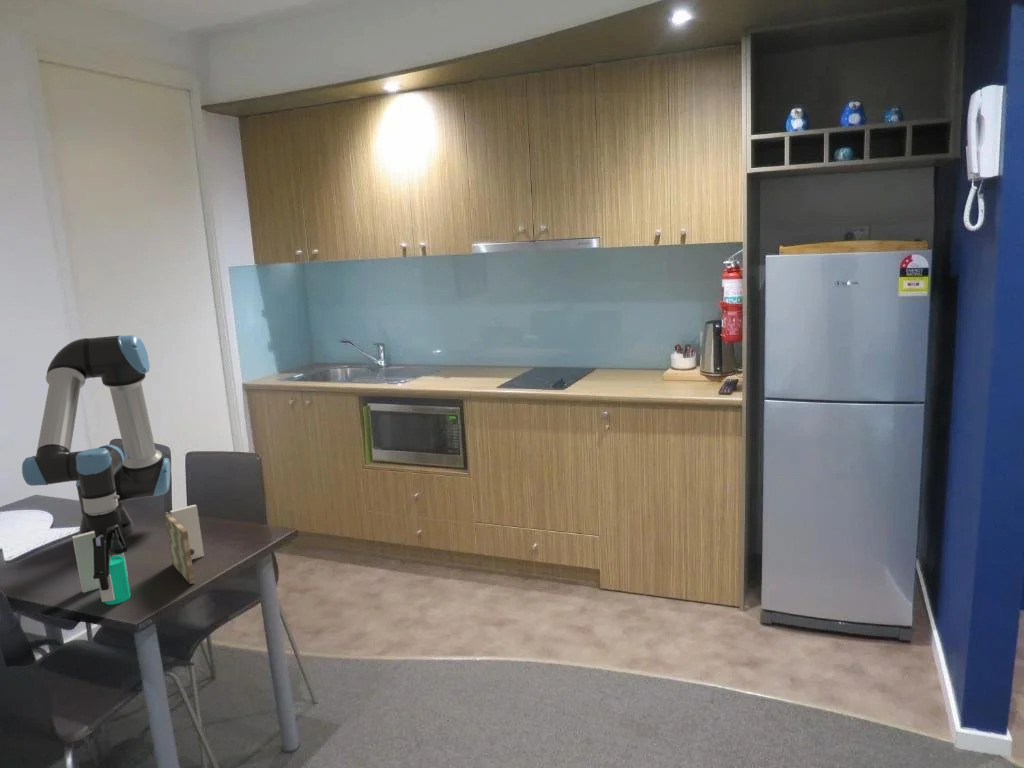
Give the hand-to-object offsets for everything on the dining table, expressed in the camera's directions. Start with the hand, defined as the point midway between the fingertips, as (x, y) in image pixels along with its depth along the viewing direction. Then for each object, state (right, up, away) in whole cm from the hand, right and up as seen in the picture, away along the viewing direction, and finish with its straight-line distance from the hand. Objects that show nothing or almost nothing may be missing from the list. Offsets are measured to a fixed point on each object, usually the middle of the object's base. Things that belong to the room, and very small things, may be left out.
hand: (115, 588), depth 187 cm
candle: (0, -3, 0) cm, 3 cm away
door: (+12, +1, +13) cm, 18 cm away
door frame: (0, 0, +15) cm, 15 cm away
